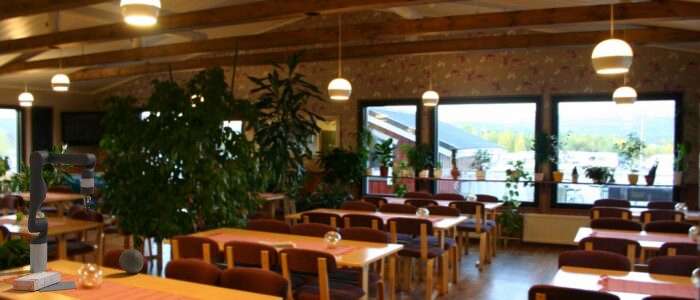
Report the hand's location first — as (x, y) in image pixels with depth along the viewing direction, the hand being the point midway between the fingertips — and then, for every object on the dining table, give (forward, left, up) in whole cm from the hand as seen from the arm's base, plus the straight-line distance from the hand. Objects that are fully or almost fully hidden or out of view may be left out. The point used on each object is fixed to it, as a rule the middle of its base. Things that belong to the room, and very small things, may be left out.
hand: (87, 214), depth 367 cm
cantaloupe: (+10, +25, -37) cm, 46 cm away
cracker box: (+15, -20, -34) cm, 42 cm away
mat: (+27, -17, -37) cm, 49 cm away
